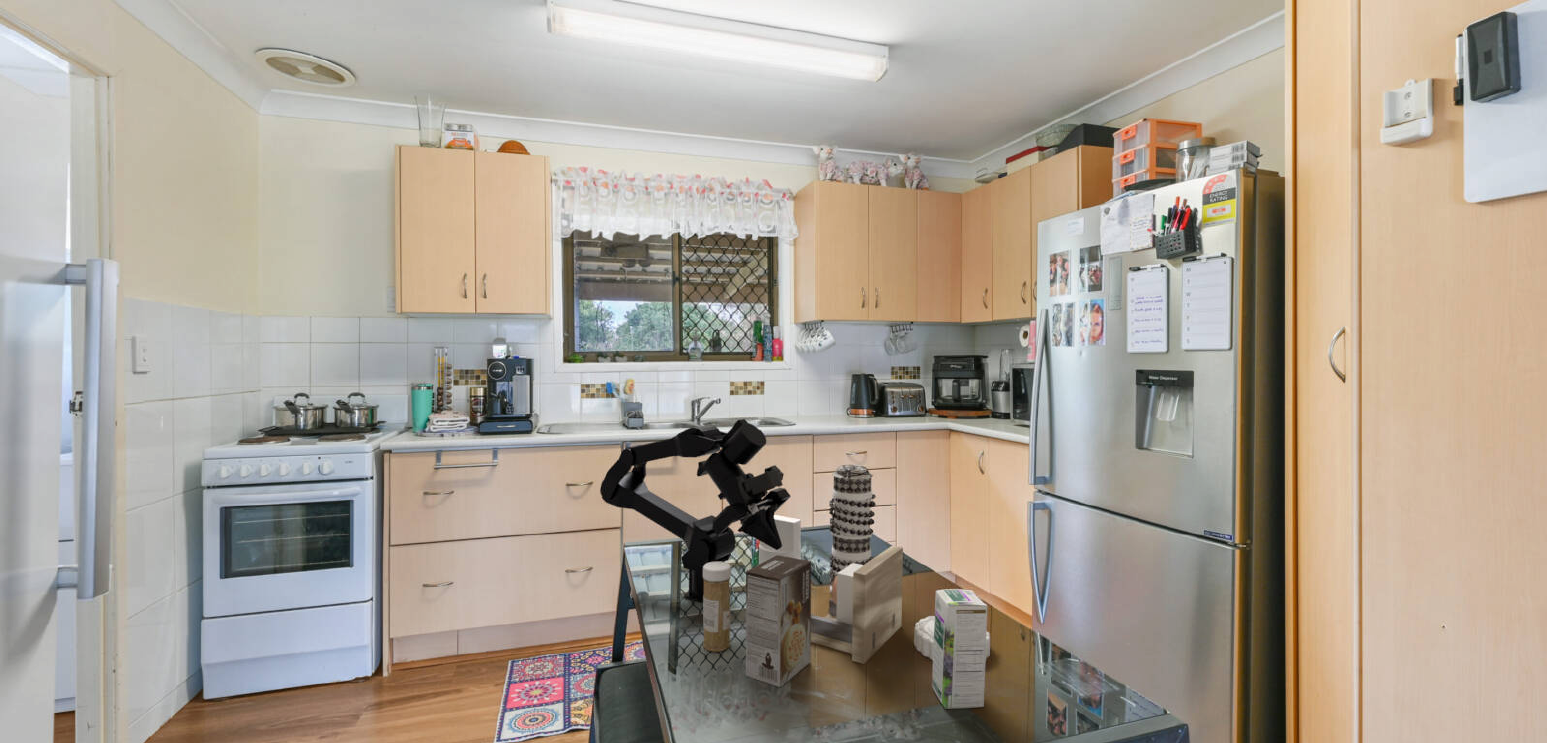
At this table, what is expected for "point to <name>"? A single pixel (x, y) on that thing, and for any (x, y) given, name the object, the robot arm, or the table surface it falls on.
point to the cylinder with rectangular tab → (784, 540)
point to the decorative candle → (851, 518)
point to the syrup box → (959, 648)
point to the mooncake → (932, 637)
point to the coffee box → (778, 619)
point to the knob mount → (866, 609)
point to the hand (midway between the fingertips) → (779, 548)
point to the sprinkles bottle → (716, 606)
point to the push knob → (844, 593)
